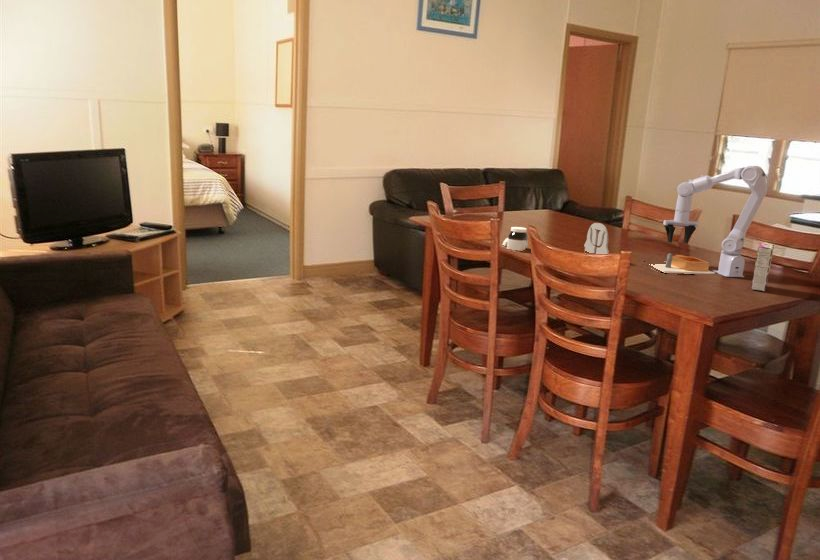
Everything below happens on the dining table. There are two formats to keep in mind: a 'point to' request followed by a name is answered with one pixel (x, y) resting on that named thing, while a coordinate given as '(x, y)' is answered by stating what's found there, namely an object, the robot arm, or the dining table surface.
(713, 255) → the dining table surface
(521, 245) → the spread jar
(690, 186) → the robot arm
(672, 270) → the board
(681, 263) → the wooden link
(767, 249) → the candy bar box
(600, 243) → the ornament
